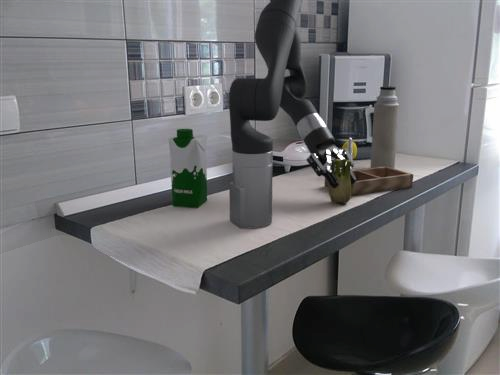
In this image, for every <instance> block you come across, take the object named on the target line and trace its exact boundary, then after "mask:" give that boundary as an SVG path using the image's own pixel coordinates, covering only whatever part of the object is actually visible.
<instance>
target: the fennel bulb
mask: <svg viewBox="0 0 500 375" xmlns="http://www.w3.org/2000/svg"><path fill="white" fill-rule="evenodd" d="M331 162H332V165H331V169H332V172H331V173H334V175H335V177H336V178H337V180H338V182H339V186H338V187H337V188H334V189H333V188H332V187H331V186H330V184H329V182H328V188H327V189H328V195H329V199H330V201H332V203H334V204H336V205H337V204H338V205H344V204H347V203H349V201H350V200H351V198H352V197H351V181H350V169H352V168H351V161H350V160H347V161H346V159H342V166H341V170H340V165H341V159H336V164H334V159H331ZM345 165H346V166H345ZM340 172H341V174H340Z"/></svg>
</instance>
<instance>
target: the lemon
mask: <svg viewBox="0 0 500 375" xmlns="http://www.w3.org/2000/svg"><path fill="white" fill-rule="evenodd" d="M348 141H349V140H346V141H345V142H344V143H343V145H342V147H341V150H344V148H348ZM352 145H353V146H352V147H353V148H352V149H353V150H352V151H353V152H352V156H353V157H352V160H354V159H355V158H357V157H356V156H357V154H358V148H357V144H356V143H355V142H354V141H352Z"/></svg>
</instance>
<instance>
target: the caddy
mask: <svg viewBox="0 0 500 375" xmlns="http://www.w3.org/2000/svg"><path fill="white" fill-rule="evenodd" d="M352 172H353V174H354V176H355V177H356V182H355V183H354V184H353V185H351V198H352V196H353V197H357V196H358V197H359V196H365V195H370V194H371V195H372V194H377V193H378V194H379V193H384V192H390V191H398V190H402V189H403V190H404V189H410V188H413V182H414V181H413V180H414V174H413V173H411V172H410V173H409V172H407V171H403V170H399V169H397V168H394V169H393V168H390V167H386V166H384V167H376V168H370V167H369V168H362V169H353V170H352ZM340 174H341V171H340ZM326 187H327V188H326ZM324 188H326V189H328V180H327V179H326V178H325V177H324Z"/></svg>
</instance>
